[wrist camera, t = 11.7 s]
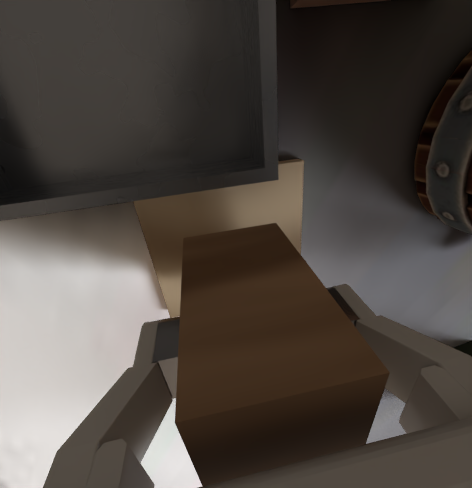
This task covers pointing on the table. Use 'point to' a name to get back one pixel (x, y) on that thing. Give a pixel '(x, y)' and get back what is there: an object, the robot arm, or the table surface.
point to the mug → (448, 152)
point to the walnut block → (266, 358)
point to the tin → (133, 100)
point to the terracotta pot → (324, 2)
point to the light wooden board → (217, 220)
